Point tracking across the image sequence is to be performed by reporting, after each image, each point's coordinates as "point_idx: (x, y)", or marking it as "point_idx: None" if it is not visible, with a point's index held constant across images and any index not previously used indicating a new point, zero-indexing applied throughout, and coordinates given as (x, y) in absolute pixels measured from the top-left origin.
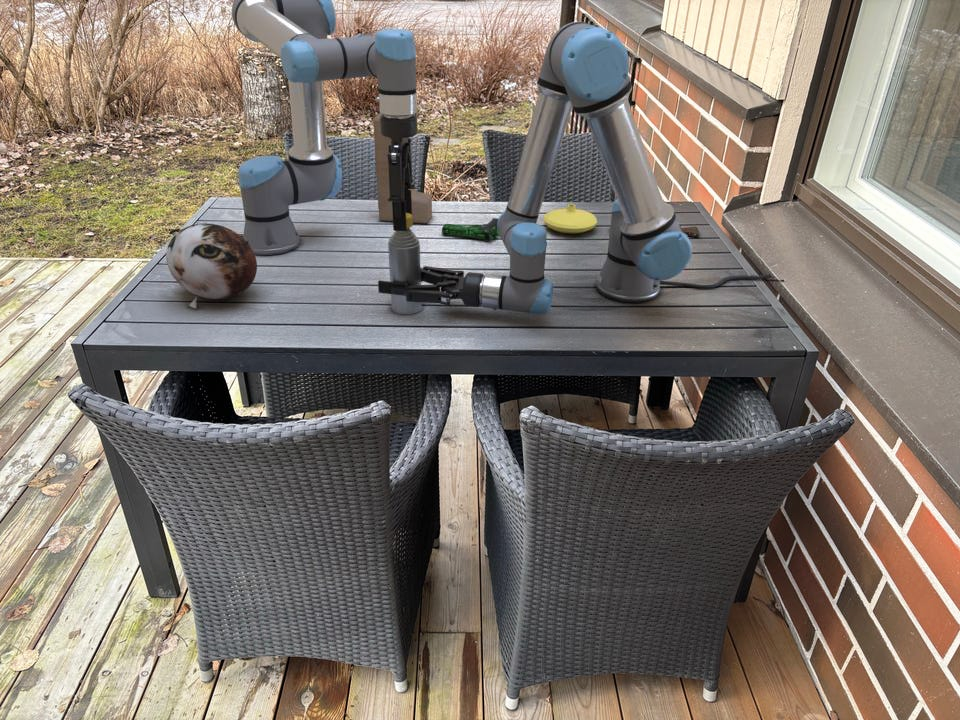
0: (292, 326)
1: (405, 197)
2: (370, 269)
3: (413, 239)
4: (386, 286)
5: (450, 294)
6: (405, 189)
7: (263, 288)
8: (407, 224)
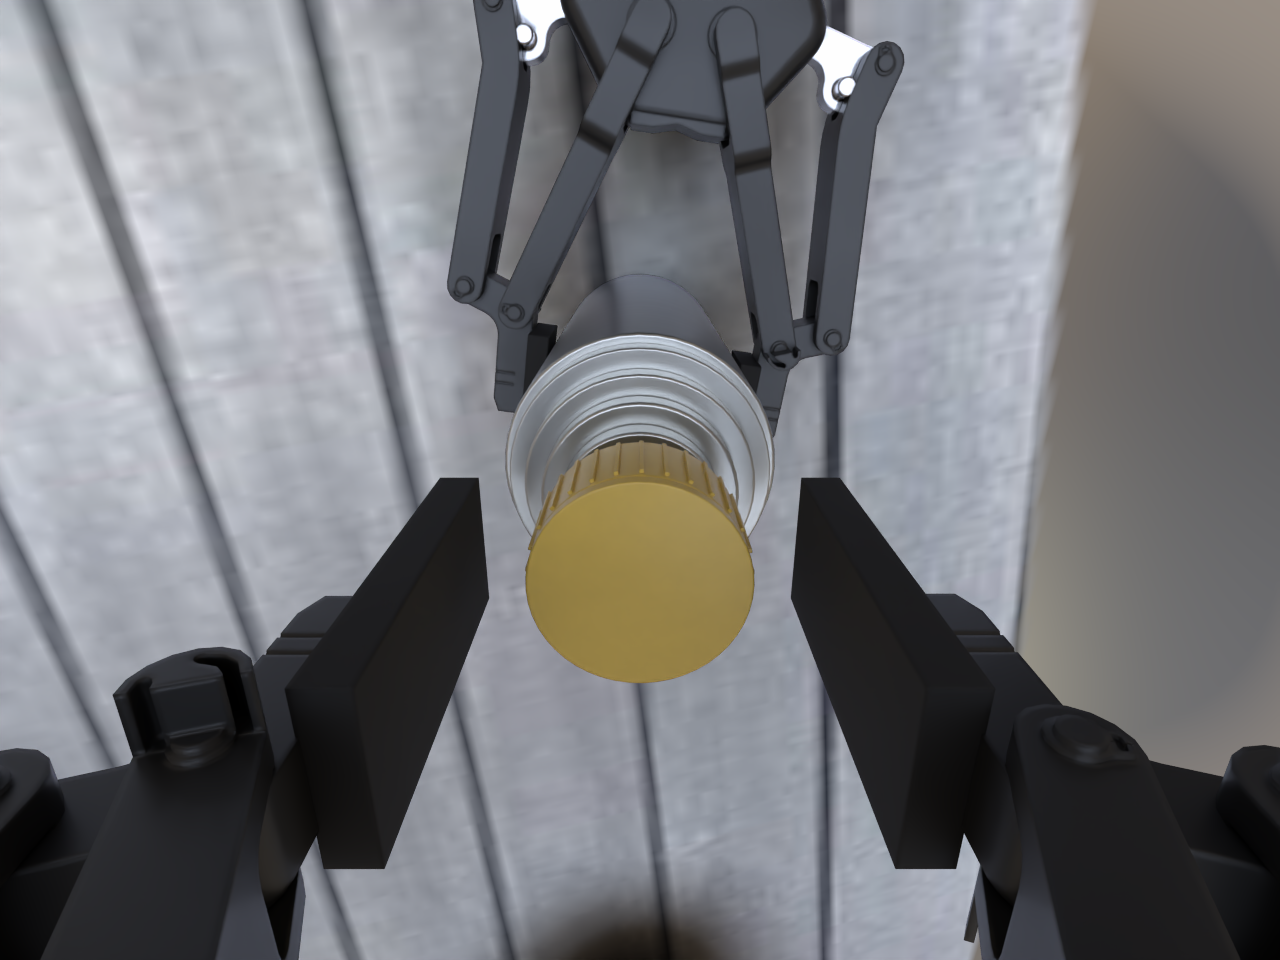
0: (841, 746)
1: (406, 691)
2: (254, 594)
3: (698, 390)
4: None
5: (832, 49)
6: (305, 782)
7: (542, 904)
8: (724, 494)
